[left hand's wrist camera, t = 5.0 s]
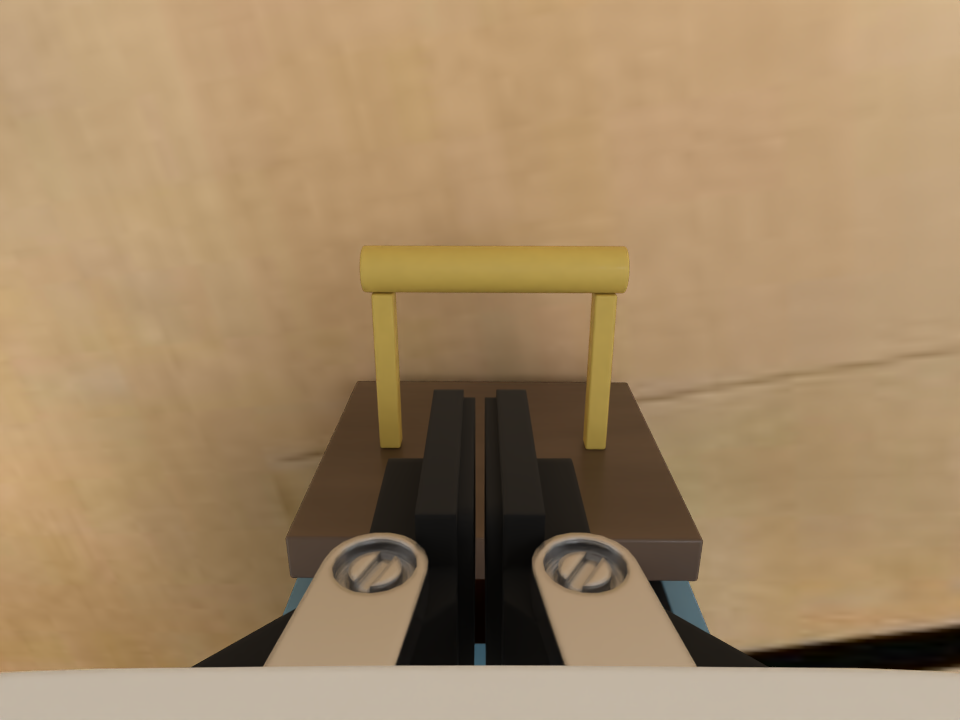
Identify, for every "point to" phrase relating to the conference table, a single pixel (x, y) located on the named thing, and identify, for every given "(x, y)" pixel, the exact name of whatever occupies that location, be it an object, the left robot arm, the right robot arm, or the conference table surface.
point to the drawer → (552, 405)
